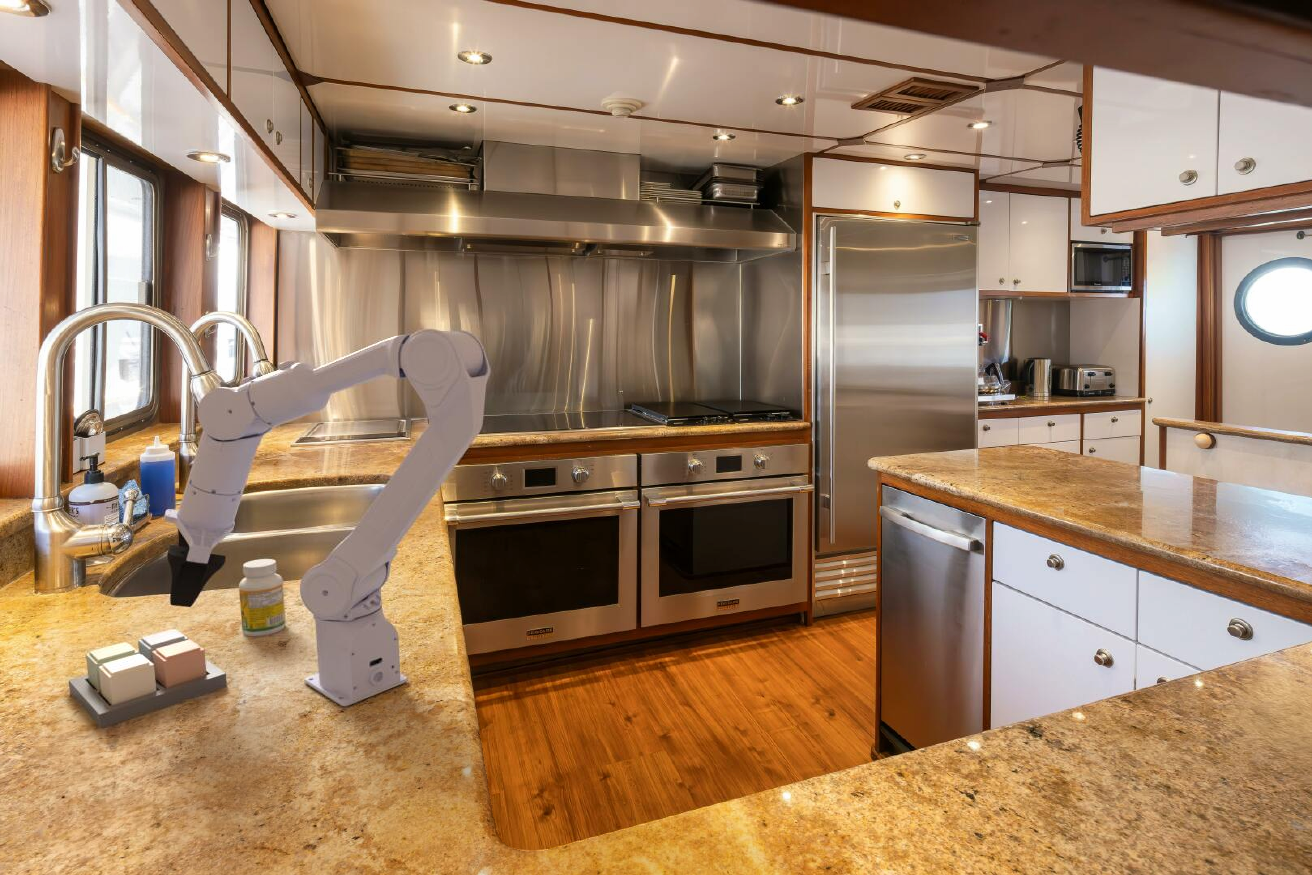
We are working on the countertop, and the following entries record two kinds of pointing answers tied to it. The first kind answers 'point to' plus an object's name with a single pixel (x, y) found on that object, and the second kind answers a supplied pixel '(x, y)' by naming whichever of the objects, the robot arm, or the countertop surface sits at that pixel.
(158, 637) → the key slate
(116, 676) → the key cream
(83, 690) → the keypad board
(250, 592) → the supplement bottle
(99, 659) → the key sage
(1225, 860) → the countertop surface
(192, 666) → the key terracotta
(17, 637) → the countertop surface
